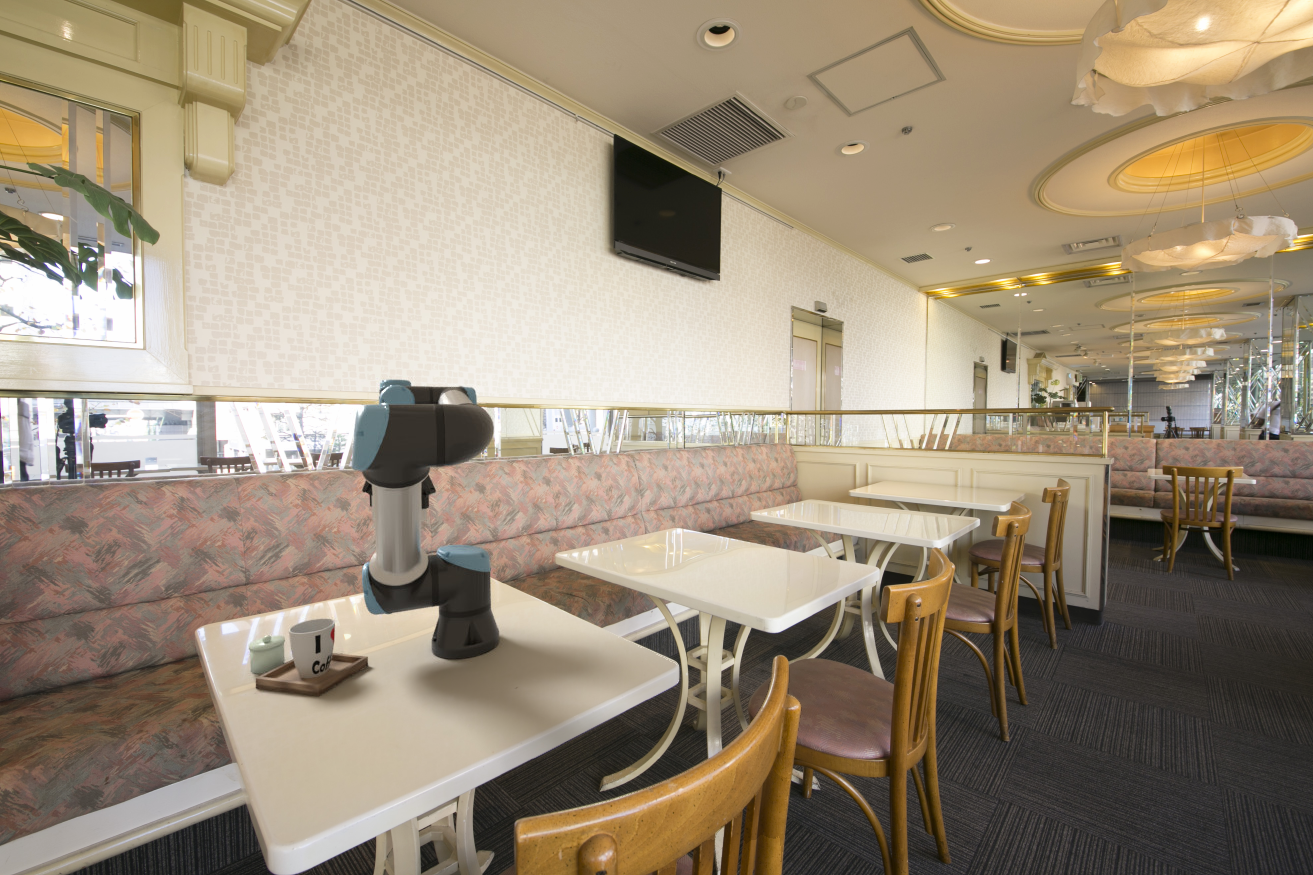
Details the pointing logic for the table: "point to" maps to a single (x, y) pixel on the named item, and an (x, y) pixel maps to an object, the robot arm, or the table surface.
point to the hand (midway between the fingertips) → (399, 520)
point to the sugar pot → (266, 654)
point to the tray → (291, 681)
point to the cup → (312, 646)
